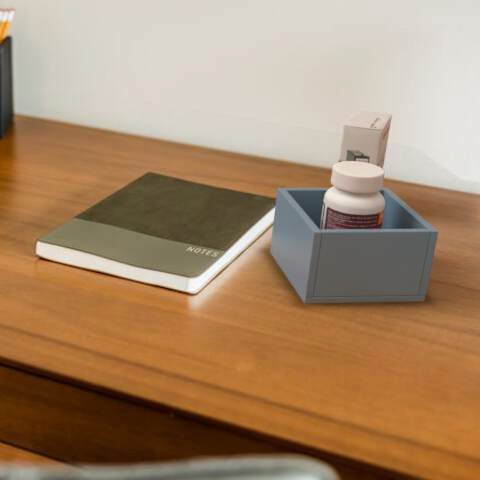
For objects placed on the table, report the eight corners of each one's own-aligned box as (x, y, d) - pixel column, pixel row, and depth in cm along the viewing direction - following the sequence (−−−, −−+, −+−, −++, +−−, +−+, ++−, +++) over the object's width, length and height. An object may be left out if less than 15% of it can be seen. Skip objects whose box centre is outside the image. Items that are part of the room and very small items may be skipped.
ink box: (341, 193, 120) (354, 107, 116) (379, 200, 118) (394, 112, 114) (329, 214, 113) (342, 122, 108) (369, 221, 111) (384, 129, 106)
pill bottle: (382, 282, 93) (400, 178, 89) (325, 283, 92) (341, 178, 88) (360, 257, 99) (376, 159, 94) (306, 258, 98) (319, 159, 93)
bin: (376, 252, 102) (387, 187, 99) (424, 302, 91) (438, 231, 88) (269, 253, 101) (277, 187, 98) (304, 304, 89) (314, 232, 86)
